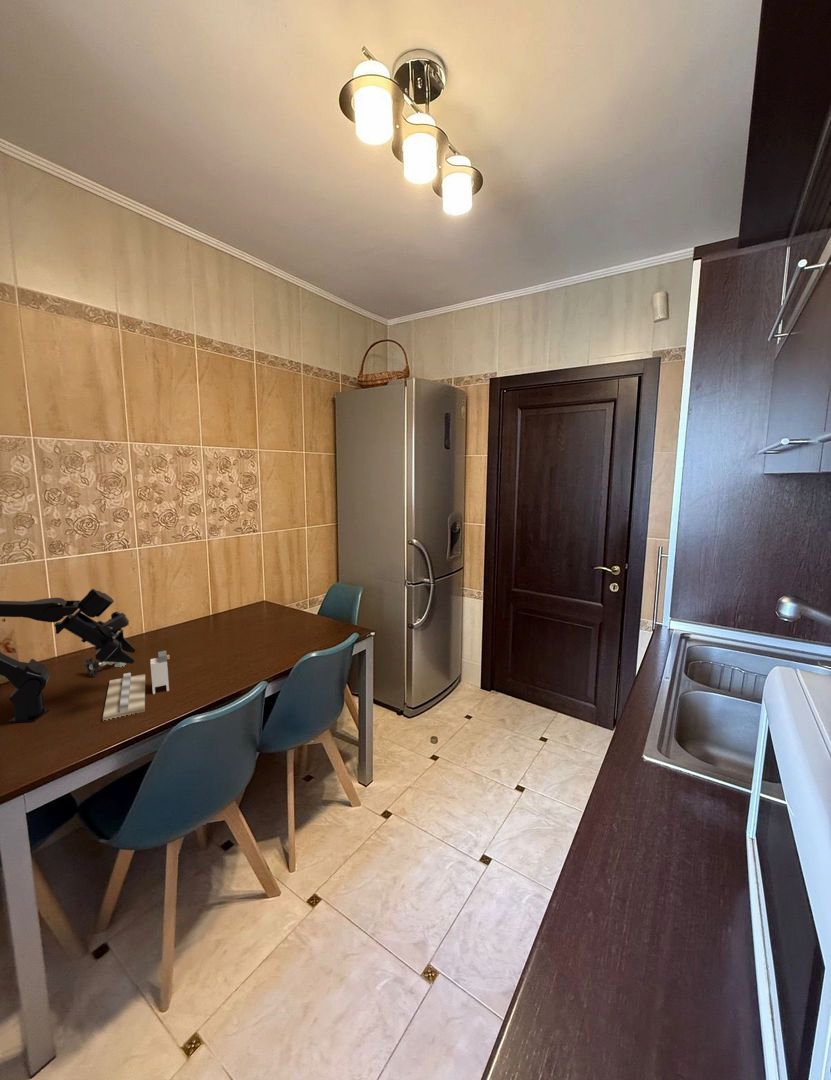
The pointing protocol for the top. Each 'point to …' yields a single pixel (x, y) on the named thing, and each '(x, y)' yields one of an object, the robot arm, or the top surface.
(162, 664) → the breaker module
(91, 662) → the valve
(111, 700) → the din board
